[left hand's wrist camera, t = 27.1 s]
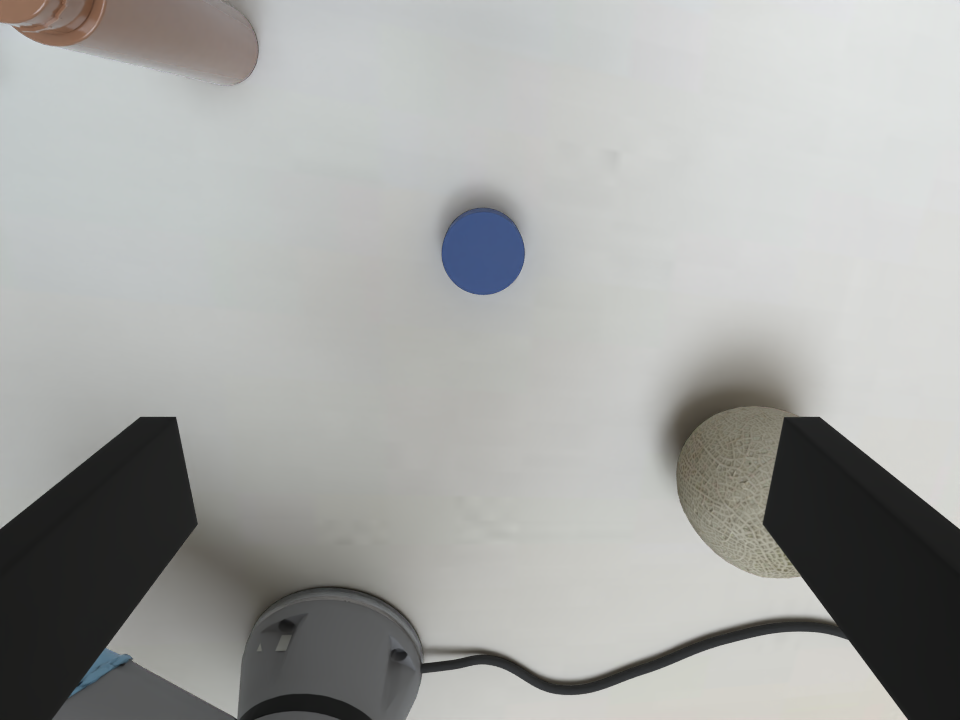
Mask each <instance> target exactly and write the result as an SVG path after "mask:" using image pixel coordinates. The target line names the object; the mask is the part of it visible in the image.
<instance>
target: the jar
mask: <svg viewBox="0 0 960 720" xmlns="http://www.w3.org/2000/svg"><path fill="white" fill-rule="evenodd" d="M0 23H4V24H8V25H11V26H12V27H14V28H15V29H16V30H17V31H19V32H20V33H21V34H23V35H25V36H26V37H28V38H30V39H32V40H34V41H36V42H39V43H41V44H44V45H49V46H53V47H57V48H62V49H66V50H70V51H75V52H79V53H83V54H88V55H92V56H96V57H101V58H105V59H109V60H114V61H118V62H122V63H127V64H131V65H135V66H140V67H144V68H148V69H153V70H157V71H161V72H166V73H170V74H174V75H179V76H183V77H187V78H192V79H196V80H200V81H205V82H209V83H213V84H218V85H224V86H228V85H235V84H237V83H240V82H242V81H243V80H245V79H246V78H247V77H248V76H249V75H250V74H251V72H252V71H253V69H254V67H255V65H256V62H257V57H258V44H257V39H256V35H255V32H254V30H253V28H252V26H251V24H250V23H249V21H248V20H247V19H246V17H245V16H244V15H243V14H242V13H241V12H240V11H238V10H237V9H235V8H234V7H232V6H230V5H228V4H227V3H225V2H223V1H221V0H0Z"/></svg>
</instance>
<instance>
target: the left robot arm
mask: <svg viewBox="0 0 960 720" xmlns="http://www.w3.org/2000/svg"><path fill="white" fill-rule="evenodd" d="M196 526H197V519H196V514H195V509H194V504H193V499H192V494H191V489H190V484H189V479H188V474H187V469H186V464H185V459H184V454H183V449H182V444H181V439H180V434H179V429H178V424H177V419H176V417H140V418H139V419H137V420H136V421H135V422H134V423H132V424H131V425H130V426H129V427H127V428H126V429H125V430H124V431H122V432H121V433H120V434H119V435H117V436H116V437H115V438H114V439H112V440H111V441H110V442H109V443H107V444H106V445H105V446H104V447H102V448H101V449H100V450H99V451H97V452H96V453H95V454H94V455H92V456H91V457H90V458H89V459H87V460H86V461H85V462H84V463H82V464H81V465H80V466H79V467H77V468H76V469H75V470H74V471H72V472H71V473H70V474H69V475H67V476H66V477H65V478H64V479H62V480H61V481H60V482H59V483H57V484H56V485H55V486H54V487H52V488H51V489H50V490H49V491H47V492H46V493H45V494H44V495H42V496H41V497H40V498H39V499H37V500H36V501H35V502H34V503H32V504H31V505H30V506H29V507H27V508H26V509H25V510H24V511H22V512H21V513H20V514H19V515H17V516H16V517H15V518H14V519H12V520H11V521H10V522H9V523H7V524H6V525H5V526H4V527H2V528H1V529H0V720H405V719H406V717H407V715H408V713H409V711H410V709H411V707H412V705H413V703H414V701H415V699H416V696H417V693H418V690H419V686H420V682H421V677H422V673H429V672H437V671H445V670H453V669H459V668H463V667H468V666H472V665H478V664H487V665H493V666H497V667H500V668H503V669H505V670H508V671H509V672H511V673H513V674H515V675H517V676H518V677H520V678H521V679H523V680H524V681H526V682H528V683H529V684H531V685H533V686H534V687H537V688H539V689H541V690H543V691H546V692H549V693H554V694H561V695H579V694H586V693H591V692H595V691H599V690H602V689H605V688H608V687H611V686H613V685H616V684H618V683H621V682H624V681H626V680H629V679H631V678H634V677H637V676H640V675H643V674H646V673H649V672H652V671H655V670H658V669H660V668H663V667H666V666H668V665H670V664H673V663H675V662H678V661H680V660H682V659H685V658H687V657H689V656H692V655H694V654H697V653H699V652H702V651H705V650H708V649H711V648H714V647H717V646H720V645H724V644H728V643H732V642H736V641H740V640H744V639H748V638H752V637H756V636H761V635H766V634H772V633H780V632H797V631H803V632H819V633H825V634H830V635H834V636H838V637H841V638H844V639H847V640H849V641H850V642H851V644H852V645H853V646H854V648H855V649H856V650H857V652H858V653H859V654H860V656H861V657H862V659H863V660H864V661H865V663H866V664H867V665H868V667H869V668H870V669H871V671H872V672H873V673H874V675H875V676H876V677H877V679H878V680H879V681H880V683H881V684H882V685H883V687H884V688H885V689H886V691H887V692H888V693H889V695H890V696H891V697H892V699H893V700H894V701H895V703H896V704H897V706H898V707H899V708H900V710H901V711H902V712H903V714H904V715H905V716H906V718H907V719H908V720H960V529H959V528H958V527H956V526H955V525H954V524H953V523H951V522H950V521H949V520H948V519H946V518H945V517H944V516H943V515H941V514H940V513H939V512H938V511H936V510H935V509H934V508H933V507H931V506H930V505H929V504H928V503H926V502H925V501H924V500H923V499H921V498H920V497H919V496H918V495H916V494H915V493H914V492H913V491H911V490H910V489H909V488H908V487H906V486H905V485H904V484H903V483H901V482H900V481H899V480H898V479H896V478H895V477H894V476H893V475H891V474H890V473H889V472H888V471H886V470H885V469H884V468H883V467H881V466H880V465H879V464H878V463H876V462H875V461H874V460H873V459H871V458H870V457H869V456H868V455H866V454H865V453H864V452H863V451H861V450H860V449H859V448H858V447H856V446H855V445H854V444H853V443H851V442H850V441H849V440H848V439H846V438H845V437H844V436H843V435H841V434H840V433H839V432H838V431H836V430H835V429H834V428H833V427H831V426H830V425H829V424H828V423H826V422H825V421H824V420H823V419H821V418H820V417H784V419H783V424H782V429H781V434H780V439H779V444H778V449H777V454H776V459H775V464H774V469H773V474H772V479H771V484H770V489H769V494H768V499H767V504H766V509H765V514H764V519H763V526H764V527H765V528H766V530H767V531H768V532H769V534H770V535H771V536H772V538H773V539H774V540H775V542H776V543H777V544H778V546H779V547H780V548H781V550H782V551H783V552H784V554H785V555H786V556H787V558H788V559H789V561H790V562H791V563H792V565H793V566H794V567H795V569H796V570H797V571H798V573H799V574H800V575H801V577H802V578H803V579H804V581H805V582H806V583H807V585H808V586H809V587H810V589H811V590H812V591H813V593H814V594H815V595H816V597H817V598H818V599H819V601H820V602H821V603H822V605H823V606H824V608H825V609H826V610H827V612H828V613H829V614H830V616H831V617H832V618H833V620H834V621H835V622H836V624H837V625H838V626H839V627H836V626H832V625H827V624H822V623H813V622H783V623H773V624H767V625H761V626H756V627H751V628H747V629H743V630H739V631H735V632H731V633H727V634H723V635H720V636H716V637H713V638H710V639H706V640H704V641H701V642H698V643H695V644H693V645H690V646H688V647H685V648H683V649H681V650H678V651H676V652H674V653H671V654H669V655H667V656H664V657H662V658H659V659H657V660H654V661H651V662H649V663H646V664H643V665H640V666H637V667H634V668H631V669H628V670H625V671H623V672H620V673H618V674H615V675H612V676H610V677H607V678H605V679H602V680H599V681H596V682H592V683H588V684H582V685H572V686H568V685H556V684H552V683H548V682H545V681H543V680H541V679H539V678H537V677H535V676H534V675H532V674H530V673H529V672H527V671H526V670H524V669H523V668H521V667H519V666H518V665H516V664H514V663H512V662H510V661H508V660H505V659H503V658H499V657H496V656H490V655H475V656H469V657H465V658H461V659H456V660H449V661H441V662H433V663H424V664H423V652H422V646H421V643H420V640H419V638H418V636H417V634H416V632H415V630H414V629H413V627H412V626H411V624H410V623H409V622H408V621H407V620H406V619H405V618H404V616H403V615H401V614H400V613H399V612H398V611H397V610H396V609H394V608H393V607H391V606H390V605H388V604H387V603H385V602H383V601H381V600H379V599H377V598H375V597H373V596H370V595H368V594H365V593H362V592H358V591H354V590H349V589H342V588H315V589H309V590H304V591H300V592H297V593H294V594H291V595H289V596H287V597H284V598H282V599H281V600H279V601H277V602H276V603H274V604H273V605H272V606H270V607H269V608H268V609H267V610H266V611H265V612H264V613H263V614H262V615H261V616H260V618H259V619H258V621H257V622H256V624H255V626H254V628H253V630H252V632H251V634H250V636H249V639H248V641H247V643H246V646H245V650H244V654H243V658H242V665H241V677H240V690H239V704H238V717H237V719H236V718H234V717H233V716H231V715H229V714H227V713H226V712H224V711H222V710H220V709H218V708H216V707H215V706H213V705H211V704H209V703H207V702H205V701H204V700H202V699H200V698H198V697H196V696H194V695H193V694H191V693H189V692H187V691H185V690H183V689H182V688H180V687H178V686H176V685H174V684H172V683H171V682H169V681H167V680H165V679H163V678H161V677H160V676H158V675H156V674H154V673H152V672H150V671H149V670H147V669H145V668H143V667H142V666H140V665H138V664H136V663H135V662H133V661H132V659H133V658H132V657H131V656H129V655H127V654H124V655H120V654H117V653H115V652H113V651H111V650H109V649H107V648H106V646H107V645H108V644H109V642H110V641H111V640H112V638H113V637H114V636H115V634H116V633H117V632H118V630H119V629H120V628H121V626H122V625H123V624H124V622H125V621H126V620H127V618H128V617H129V616H130V614H131V613H132V612H133V610H134V609H135V608H136V606H137V605H138V603H139V602H140V601H141V599H142V598H143V597H144V595H145V594H146V593H147V591H148V590H149V589H150V587H151V586H152V585H153V583H154V582H155V581H156V579H157V578H158V577H159V575H160V574H161V573H162V571H163V570H164V569H165V567H166V566H167V565H168V563H169V562H170V561H171V559H172V558H173V556H174V555H175V554H176V552H177V551H178V550H179V548H180V547H181V546H182V544H183V543H184V542H185V540H186V539H187V538H188V536H189V535H190V534H191V532H192V531H193V530H194V528H195V527H196Z"/></svg>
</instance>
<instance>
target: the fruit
mask: <svg viewBox="0 0 960 720" xmlns="http://www.w3.org/2000/svg"><path fill="white" fill-rule="evenodd" d="M784 417H799V416H796V415H794V414H792V413H789V412H786V411H783V410H779V409H775V408H769V407H759V406H749V407H738V408H733V409H730V410H726V411H723V412H720V413H717V414H715V415H713V416H712V417H710V418H709V419H707V420H705V421H704V422H703V423H702V424H700V425H699V426H698V427H697V428H696V429H695V430H694V431H693V432H692V434H691V435H690V437H689V438H688V439H687V440H686V442H685V444H684V446H683V448H682V450H681V453H680V456H679V459H678V465H677V472H676V476H677V489H678V495H679V499H680V503H681V505H682V508H683V511H684V512H685V514H686V516H687V518H688V520H689V522H690V523H691V525H692V526H693V528H694V529H695V531H696V532H697V534H698V535H699V536H700V537H701V539H702V540H703V541H704V542H705V543H706V544H707V545H708V546H709V547H710V548H711V549H712V550H713V551H714V552H715V553H716V554H717V555H719V556H720V557H721V558H723V559H724V560H725V561H727V562H728V563H730V564H732V565H734V566H736V567H738V568H740V569H741V570H744V571H746V572H748V573H752V574H754V575H757V576H760V577H765V578H793V577H800V576H801V575H800V574H799V573H798V571H797V570H796V569H795V567H794V566H793V565H792V563H791V562H790V561H789V559H788V558H787V556H786V555H785V554H784V552H783V551H782V550H781V548H780V547H779V546H778V544H777V543H776V542H775V540H774V539H773V538H772V536H771V535H770V534H769V532H768V531H767V530H766V528H765V527H764V526H763V519H764V514H765V509H766V504H767V499H768V494H769V489H770V484H771V479H772V474H773V469H774V464H775V459H776V454H777V449H778V444H779V439H780V434H781V429H782V424H783V419H784Z"/></svg>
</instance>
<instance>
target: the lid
mask: <svg viewBox="0 0 960 720" xmlns="http://www.w3.org/2000/svg"><path fill="white" fill-rule="evenodd" d="M524 256H525V251H524V244H523V240H522V237H521V235H520V233H519V231H518V229H517V227H516V225H515V224H514V223H513V221H512V220H511V219H510V218H509V217H507V216H506V215H505V214H503V213H501V212H499V211H497V210H494V209H489V208H477V209H472V210H469V211H467V212H465V213H463V214H461V215H460V216H459V217H458V218H456V219H455V220H454V222H453V223H452V224H451V225H450V227H449V229H448V231H447V233H446V236H445V238H444V242H443V246H442V261H443V265H444V268H445V271H446V273H447V274H448V276H449V277H450V279H451V280H452V281H453V282H454V283H455V284H456V285H457V286H458V287H460V288H461V289H463V290H465V291H467V292H470V293H473V294H478V295H488V294H493V293H496V292H499V291H501V290H503V289H505V288H506V287H508V286H509V285H510V284H511V283H513V281H514V280H515V279H516V278H517V276H518V275H519V273H520V271H521V269H522V266H523V263H524Z"/></svg>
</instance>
